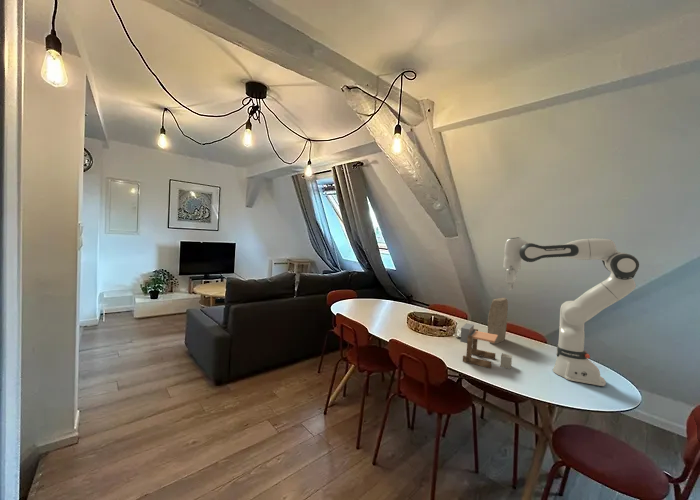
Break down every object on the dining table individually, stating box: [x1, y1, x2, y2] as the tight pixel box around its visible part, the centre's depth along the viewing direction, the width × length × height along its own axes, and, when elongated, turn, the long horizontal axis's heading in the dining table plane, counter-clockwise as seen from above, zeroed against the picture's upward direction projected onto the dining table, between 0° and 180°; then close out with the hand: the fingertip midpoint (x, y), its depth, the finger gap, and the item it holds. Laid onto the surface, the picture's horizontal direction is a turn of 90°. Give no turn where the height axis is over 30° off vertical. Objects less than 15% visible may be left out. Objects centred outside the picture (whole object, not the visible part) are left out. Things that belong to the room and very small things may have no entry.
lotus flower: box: [452, 328, 461, 338], centre depth 214 cm, size 14×15×9 cm
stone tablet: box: [487, 297, 509, 345], centre depth 212 cm, size 20×8×30 cm, turn 130°
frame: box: [462, 328, 496, 369], centre depth 177 cm, size 14×18×15 cm
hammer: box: [459, 323, 498, 344], centre depth 177 cm, size 18×14×8 cm
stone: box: [499, 353, 513, 370], centre depth 170 cm, size 5×5×6 cm
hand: (510, 289), depth 179 cm, fingers open, 8 cm apart
